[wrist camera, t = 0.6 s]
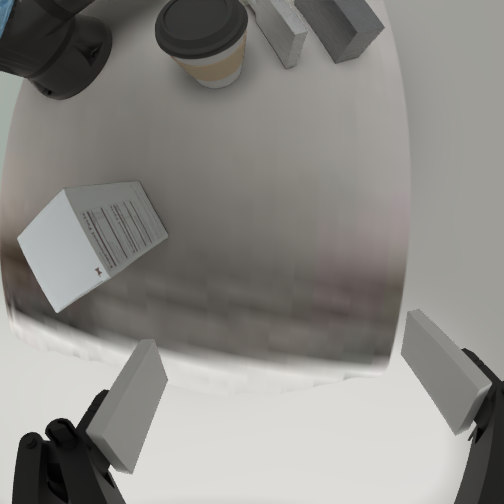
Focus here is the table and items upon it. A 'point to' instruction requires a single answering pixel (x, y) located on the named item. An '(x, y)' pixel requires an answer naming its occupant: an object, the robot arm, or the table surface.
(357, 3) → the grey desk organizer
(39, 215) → the supplement box
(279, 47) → the light grey slab
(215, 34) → the coffee cup
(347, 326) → the table surface
